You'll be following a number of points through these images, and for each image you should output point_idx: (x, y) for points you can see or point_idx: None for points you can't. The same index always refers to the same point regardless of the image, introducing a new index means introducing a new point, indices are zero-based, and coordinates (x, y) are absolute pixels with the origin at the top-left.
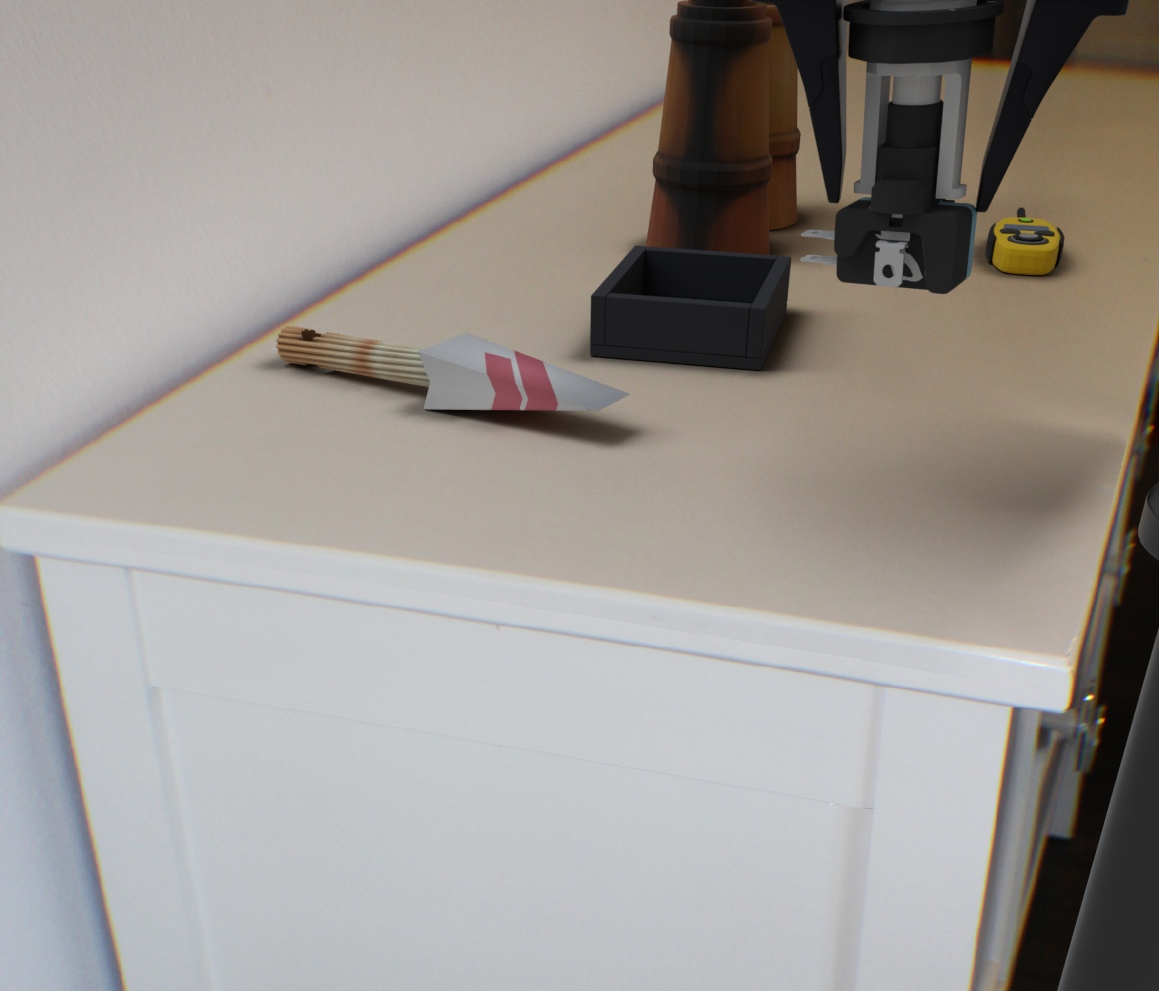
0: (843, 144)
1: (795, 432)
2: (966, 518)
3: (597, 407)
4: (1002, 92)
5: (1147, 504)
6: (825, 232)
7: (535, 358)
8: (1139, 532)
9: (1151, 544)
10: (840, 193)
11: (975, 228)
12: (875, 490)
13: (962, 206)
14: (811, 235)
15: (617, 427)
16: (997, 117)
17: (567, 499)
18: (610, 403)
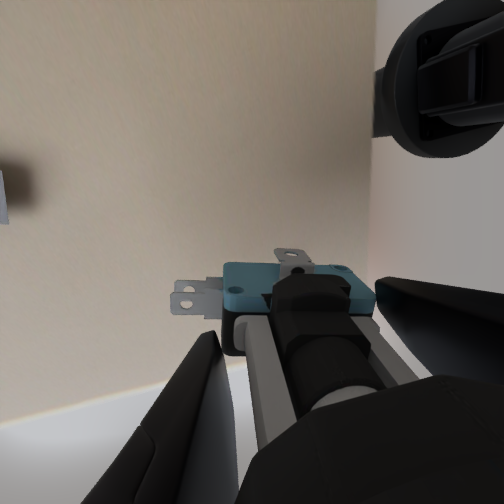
0: (227, 409)
1: (141, 102)
2: (301, 208)
3: (2, 218)
4: (500, 333)
5: (394, 102)
6: (195, 300)
7: None
8: (382, 103)
9: (389, 126)
10: (222, 354)
11: (367, 286)
12: (239, 192)
13: (364, 314)
14: (184, 314)
15: (5, 165)
16: (467, 375)
17: (73, 305)
18: (4, 202)
